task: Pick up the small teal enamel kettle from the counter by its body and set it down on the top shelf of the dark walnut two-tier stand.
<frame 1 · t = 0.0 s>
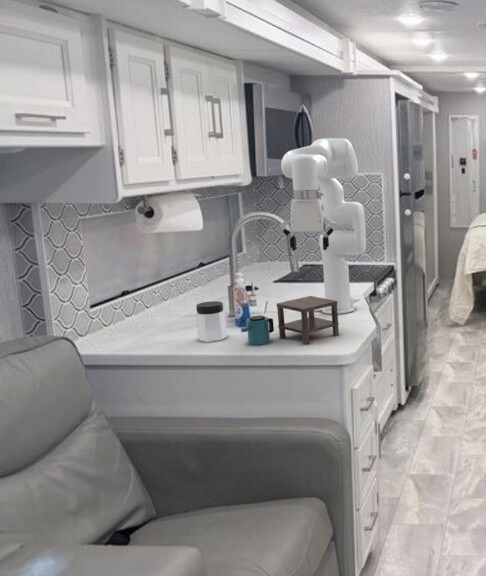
hand: (309, 249, 212), 31 cm above the countertop, tool pointing down, fingers open, 9 cm apart
kettle: (259, 342, 220), on the countertop
stand: (309, 336, 227), on the countertop
jar: (213, 339, 225), on the countertop
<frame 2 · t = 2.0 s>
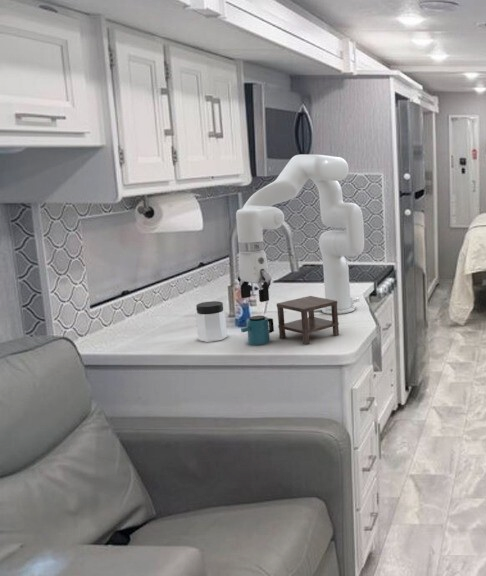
hand: (255, 299, 217), 15 cm above the countertop, tool pointing down, fingers open, 9 cm apart
nothing on the countertop moved.
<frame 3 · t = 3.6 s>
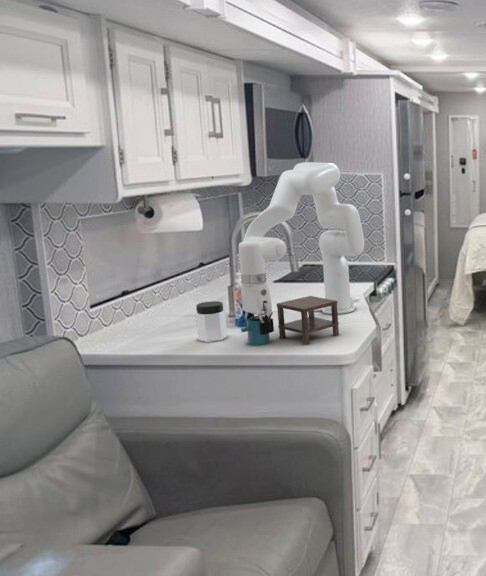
hand: (258, 331, 220), 4 cm above the countertop, tool pointing down, fingers closed on kettle, 6 cm apart
kettle: (259, 342, 220), on the countertop, touching gripper
everything else where it was.
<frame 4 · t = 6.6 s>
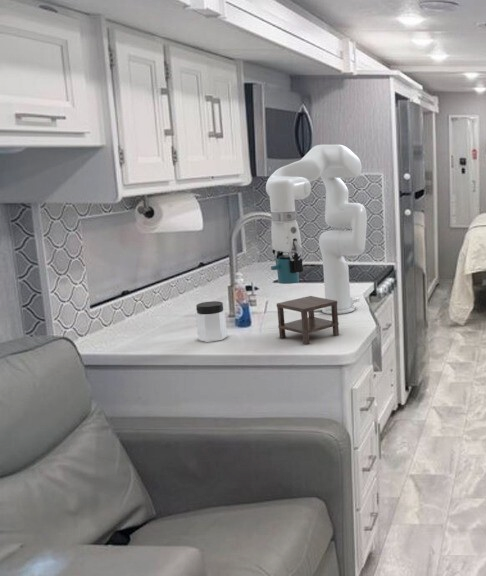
hand: (287, 270, 220), 23 cm above the countertop, tool pointing down, fingers closed on kettle, 6 cm apart
kettle: (288, 281, 221), point 20 cm above the countertop, touching gripper
everything else where it was.
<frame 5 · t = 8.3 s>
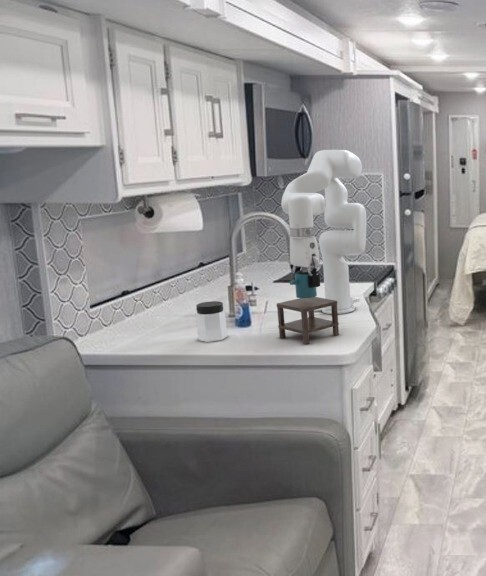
hand: (305, 285, 223), 18 cm above the countertop, tool pointing down, fingers closed on kettle, 6 cm apart
kettle: (306, 296, 224), point 14 cm above the countertop, touching gripper
everything else where it was.
when the fingers open (16 cm above the countertop, at t = 9.5 s): kettle stays where it is, resting on stand.
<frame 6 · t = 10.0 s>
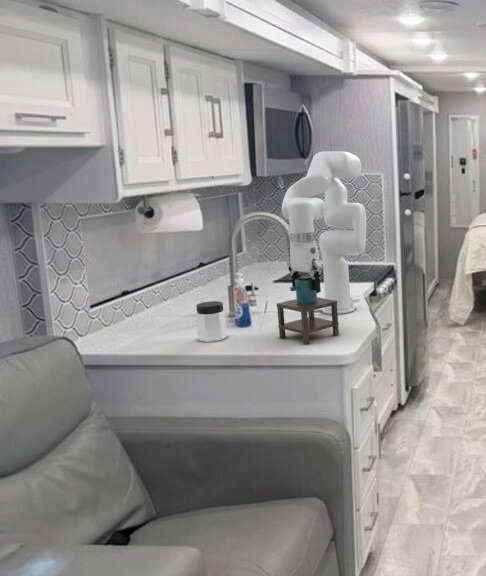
hand: (306, 288, 224), 17 cm above the countertop, tool pointing down, fingers open, 9 cm apart
kettle: (307, 302, 225), point 12 cm above the countertop, touching stand
everything else where it was.
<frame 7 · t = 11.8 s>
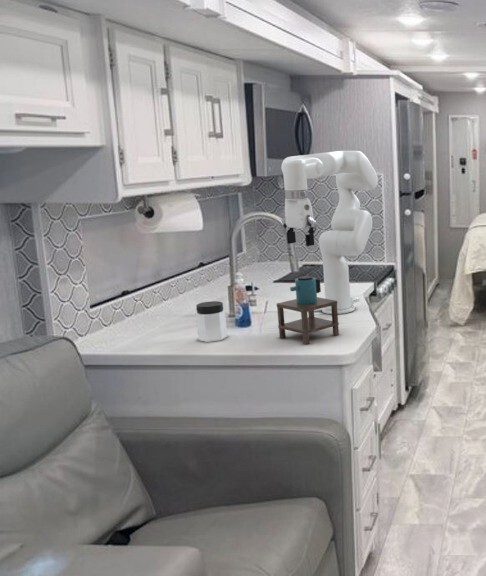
hand: (300, 244, 233), 30 cm above the countertop, tool pointing down, fingers open, 9 cm apart
nothing on the countertop moved.
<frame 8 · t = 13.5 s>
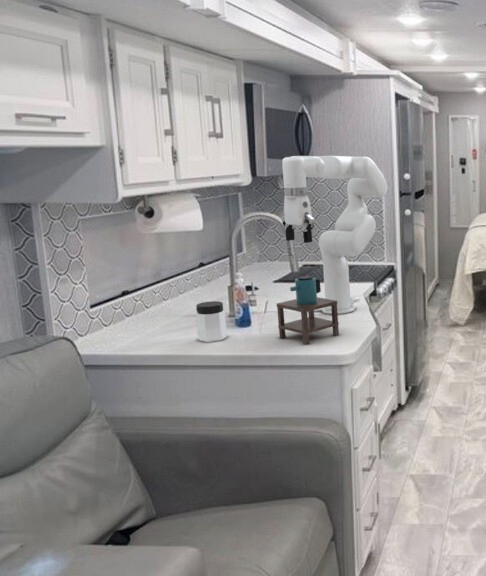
hand: (299, 241, 237), 30 cm above the countertop, tool pointing down, fingers open, 9 cm apart
nothing on the countertop moved.
at the end: kettle inside the target area on the stand (0.0 cm from its centre), point 12.0 cm above the stand's base; kettle tilted 0°; the gripper is holding nothing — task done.
